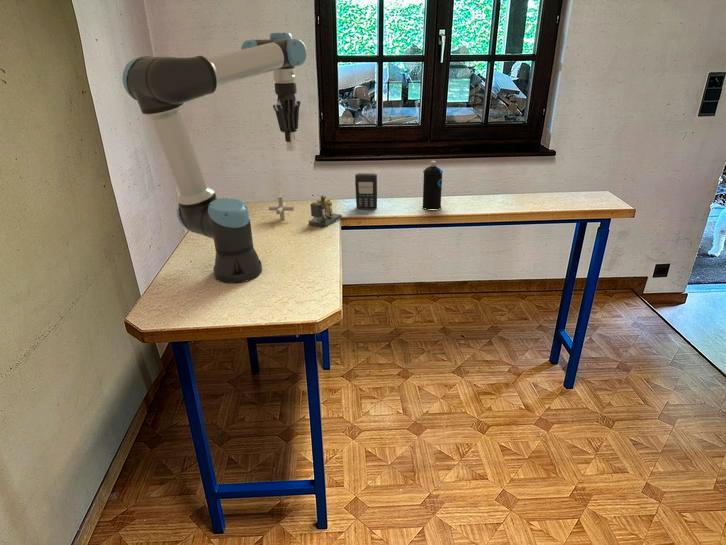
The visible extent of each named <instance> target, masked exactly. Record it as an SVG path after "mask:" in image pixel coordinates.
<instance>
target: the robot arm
mask: <svg viewBox="0 0 726 545" xmlns="http://www.w3.org/2000/svg"><path fill="white" fill-rule="evenodd" d="M307 56H308V52H307V47H306V44H305V43H304V42H303V41H302V40H301V39H298V38H293V36H292V33H290V32H270V33H269V39H247V40H244V41H243V43H242V45H241V47H240V49H239V50H236V51H231V52H228V53H222V54H219V55H218V54H217V55H215V56H211V57H205V56H204V55H197V56H191V57H190V56H189V57H177V56H176V57H175V56H150V55H146V56H144V55H143V56H139V57H134V58H132V59H131V60H130V61H128V62H127V63H126V64H125V67H124V70H123V71H122V79H121V80H122V84H123V88H124V90H125V92H126V94H128V95H129V97H131V98H132V99H133V100H135V101H137V104H138V106H139V108H140V112H141V113H142V115H144V116H145V117H147V118H149V119H150V120H151V123H152V126H153V129H154V131H155V133H156V136H157V138H158V141H159V143H160V146H161V149H162V151H163V153H164V156H165V159H166V161H167V164H168V167H169V169H170V172H171V174H172V177H173V179H174V182H175V185H176V186H177V189H178V192H179V196H178V197H177V200H176V201H177V202H178V205H177V209H176V216H177V220H178V222H179V223H180V224H181V226H182V227H184V228H185V229H186V230H188V231H189V232H191V233H195V234H197V235H201V236H204V237H207V238H210V239H212V240H213V243H214V249H215V257H214V258H215V259H214V266H213V277H214V278H215V279H216V280H217V281H218V280H219V281H218V282H221V281H223V282H222V283H225V282H230V283H229V284H232V283H231V282H239V283H244V282H243V281H245V282H247V281H246V280H248V281H250V279H251V280H253V279H255V278H257V277H258V276H260V275H261V274H260V273H262V272H263V266H262V261H261V260H260V258H259V255H258V254H257V252H256V249H255V248H254V247H255V246H254V241H253V234H252V225H251V215H250V213H249V212H250V211H249V209H248V206H247V204H246V203H245V202H243V200H240V199H237V198H227V197H224V198H218V197H217V194H216V191H215V189H214V188H213V187H210V186H209V185H208V184H207V181H206V179H205V176H204V172H203V169H202V166H201V165H200V162H199V161H200V160H199V158H198V155H197V153H196V150H195V147H194V144H193V142H192V138H191V136H190V133H189V130H188V127H187V125H186V121H185V119H184V116H183V112H182V109H183V107H184V106H185V103H187V102H190V101H193V100H195V99H196V100H197V99H200V98H202V97H204V96H208V95H211V94H213V93H214V94H215V92H217V89H218V88H220V87H223V86H226V85H230V84H233V83H238V82H240V81H243V80H246V79H249V78H253V77H256V76H259V75H263V74H266V73H270V72H272V75H273V81H274V85H273V86H274V93H275V95H277V100H276V104H273V105H272V108H273V110H274V112H275V116H276V118H277V124H278V127H279V131H280V132H282V133H284V137H285V138H284V139H285V142H286V151H289V152H294V151H296V145H295V144H296V143H295V142H296V141H295V136H296V135H295V132H297V131H298V129H299V117H300V115H299V114H300V106H301V101H300V100H297V98H296V94H297V92H298V91H297V83H296V82H295V81H296V70H295V68H296V67H298V66H302V65H303V64H305V62H306V60H307ZM259 274H260V275H259ZM256 276H257V277H256ZM252 278H253V279H252Z"/></svg>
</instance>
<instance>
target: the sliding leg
mask: <svg viewBox="0 0 726 545" xmlns="http://www.w3.org/2000/svg"><path fill="white" fill-rule="evenodd" d="M332 202H333V201H331V199H330V198H328V197H326V195H321V196H320V198H318V199H316V203H321V204H322V206H325V218H326V217H328V216H329V215H330V216H332V213H333V207H332V206H333V203H332Z"/></svg>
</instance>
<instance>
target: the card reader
mask: <svg viewBox="0 0 726 545" xmlns="http://www.w3.org/2000/svg"><path fill="white" fill-rule="evenodd" d="M354 175H355V176H354V177H355V178H354V179H355V184H354V187H355V203H356V209H358V210H359V209H360V210H364V209H365V210H376V209H378V174H377V173H356V174H354Z"/></svg>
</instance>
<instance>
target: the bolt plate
mask: <svg viewBox="0 0 726 545" xmlns="http://www.w3.org/2000/svg"><path fill="white" fill-rule="evenodd" d="M310 216H311V217H313V218H311V219H310V220H308V225H309V226H314V227H320V228H324V227H326V228H328V227H329V226H331V225H333V224H334V223H336V222H337V221H336V220H338V219H339V220H341V219H342V218H341V217H342V214H339V213H334V212H332V216H330V215H329V216H328V217H326V218H325V206H322V204H321V203H317V202H312V203H310ZM340 218H341V219H340ZM339 220H338V221H339ZM335 221H336V222H335ZM333 222H334V223H333ZM332 223H333V224H332ZM330 224H331V225H330ZM328 225H329V226H328Z"/></svg>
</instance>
